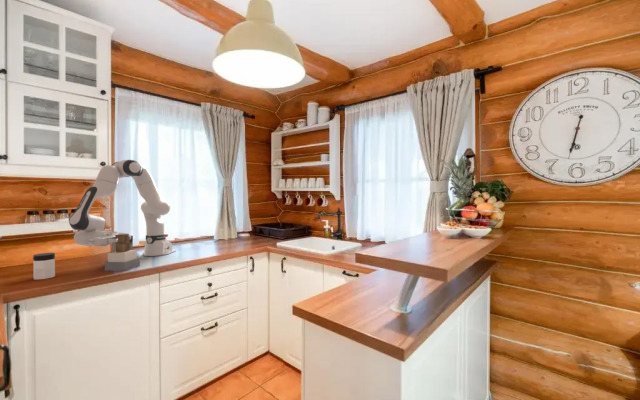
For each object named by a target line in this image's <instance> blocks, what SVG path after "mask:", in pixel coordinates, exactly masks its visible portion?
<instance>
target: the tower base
mask: <svg viewBox="0 0 640 400" xmlns="http://www.w3.org/2000/svg"><path fill="white" fill-rule="evenodd" d="M137 267H141V257H137V258H136V259H133V260H130V261H127V262H108V260H107V261H104V271H109V270H110V271H111V272H112V271H114V272H126V271H128V270H132V269H134V268H137Z"/></svg>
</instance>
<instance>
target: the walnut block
mask: <svg viewBox="0 0 640 400" xmlns="http://www.w3.org/2000/svg"><path fill="white" fill-rule="evenodd" d="M129 236H130V234H129V233H128V234H119V235H115V238H116V239H118V242H116V252H126V251H129Z"/></svg>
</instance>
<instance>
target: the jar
mask: <svg viewBox="0 0 640 400" xmlns="http://www.w3.org/2000/svg"><path fill="white" fill-rule="evenodd" d="M32 259H33V260H32V261H33V263H32V264H33V267H32V268H33V273H32V274H33V280H34V281H35V280H46V279H51V278H55V277H56V267H55V266H56V265H55V264H56V262H55V261H56V260H55V259H56V253H55V252H42V253H36V254H33V255H32Z"/></svg>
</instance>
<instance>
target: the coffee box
mask: <svg viewBox="0 0 640 400" xmlns="http://www.w3.org/2000/svg"><path fill="white" fill-rule="evenodd" d="M130 236H131V239H130V240H129V250H134V248H133V247H134V246H133V245H134V241H133V240H134V239H133V238H134V235H130ZM114 251H116V242H114V243H112V252H114Z"/></svg>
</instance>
